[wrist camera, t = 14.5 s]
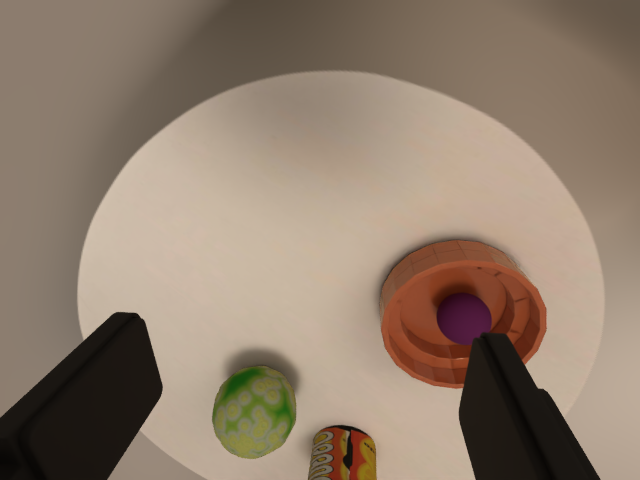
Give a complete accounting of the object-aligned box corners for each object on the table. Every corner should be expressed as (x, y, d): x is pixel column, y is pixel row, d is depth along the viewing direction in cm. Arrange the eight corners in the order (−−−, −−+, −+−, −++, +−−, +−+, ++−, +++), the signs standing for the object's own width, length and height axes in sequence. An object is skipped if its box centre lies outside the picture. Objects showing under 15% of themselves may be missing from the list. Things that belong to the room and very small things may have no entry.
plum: (440, 278, 37) (465, 303, 32) (482, 290, 38) (512, 316, 33) (420, 320, 38) (441, 349, 33) (461, 330, 39) (487, 360, 34)
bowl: (390, 230, 36) (394, 251, 31) (544, 246, 35) (571, 271, 30) (371, 345, 42) (372, 377, 38) (501, 362, 41) (518, 397, 37)
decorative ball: (279, 415, 49) (260, 490, 40) (217, 381, 48) (183, 450, 39) (317, 373, 45) (305, 446, 36) (251, 335, 44) (221, 401, 35)
